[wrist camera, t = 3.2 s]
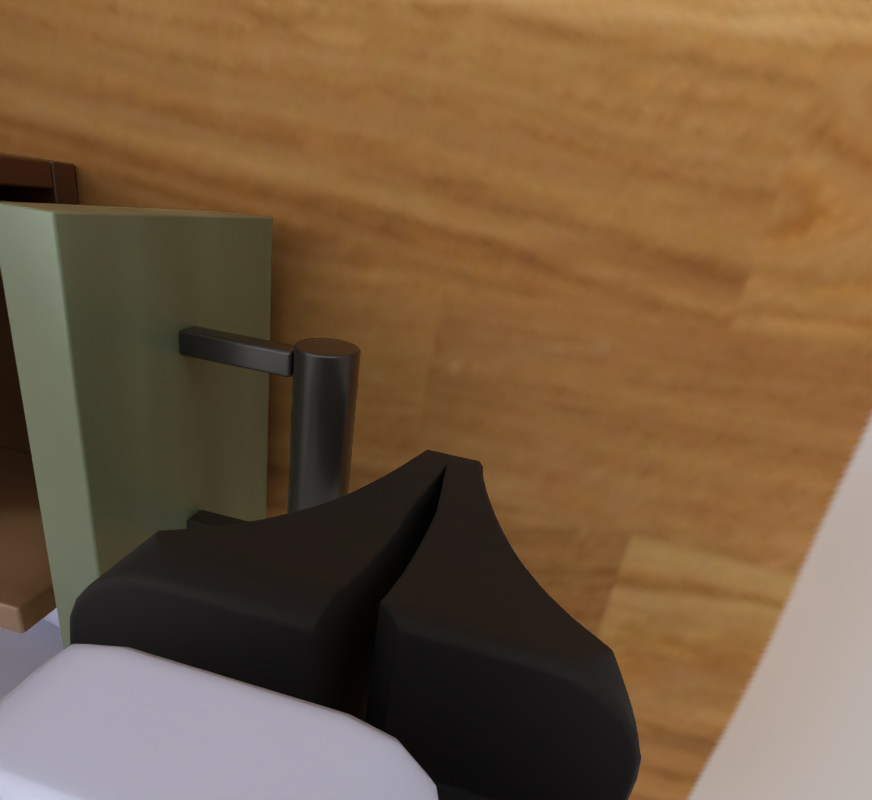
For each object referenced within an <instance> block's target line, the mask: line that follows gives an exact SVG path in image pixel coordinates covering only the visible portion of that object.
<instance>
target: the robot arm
mask: <svg viewBox="0 0 872 800" xmlns="http://www.w3.org/2000/svg"><path fill="white" fill-rule="evenodd" d="M640 761H641V754H640V749H639V739H638V733H637V727H636V722H635V718H634V714H633V710H632V706H631V703H630V700H629V696H628V693H627V690H626V687H625V684H624V681H623V678H622V675H621V673H620V670H619V667H618V664H617V661H616V658H615V656H614V653H613V651H612V649H610V648H609V647H608V646H607V645H605V644H604V643H603V642H602V641H600V640H599V639H598V638H597V637H595V636H594V635H593V634H592V633H591V632H589V631H588V630H587V629H586V628H584V627H583V626H582V625H581V624H579V623H578V622H577V621H576V620H574V619H573V618H572V617H571V616H570V615H569V614H568V613H567V612H566V611H565V610H564V609H563V608H562V607H560V606H559V605H558V604H557V603H556V602H555V601H554V600H553V599H552V598H551V597H550V596H549V595H548V594H547V593H546V591H545V590H544V589H543V588H542V587H541V586H540V585H539V584H538V583H537V581H536V580H535V579H534V578H533V576H532V575H531V574H530V573H529V572H528V570H527V569H526V568H525V567H524V565H523V564H522V563H521V561H520V560H519V558H518V557H517V555H516V554H515V552H514V550H513V549H512V547H511V546H510V544H509V542H508V540H507V538H506V537H505V535H504V533H503V531H502V529H501V527H500V525H499V522H498V520H497V518H496V516H495V513H494V511H493V508H492V506H491V503H490V500H489V497H488V494H487V491H486V487H485V483H484V479H483V466H482V465H481V463H480V462H479V461H476V460H471V459H467V458H462V457H457V456H453V455H448V454H444V453H439V452H435V451H430V450H427V451H425V452H423V453H422V454H420V455H418V456H417V457H415V458H414V459H412V460H410V461H409V462H407V463H406V464H404V465H402V466H401V467H399V468H398V469H396V470H394V471H393V472H391V473H389V474H387V475H386V476H384V477H382V478H380V479H378V480H376V481H374V482H372V483H370V484H368V485H366V486H364V487H362V488H360V489H358V490H356V491H354V492H352V493H350V494H347V495H345V496H342V497H340V498H337V499H335V500H332V501H329V502H326V503H323V504H321V505H317V506H314V507H311V508H307V509H303V510H299V511H296V512H292V513H288V514H284V515H281V516H277V517H272V518H267V519H262V520H256V521H251V522H244V523H237V524H231V525H223V526H214V527H201V528H188V529H176V530H159V531H157V532H156V533H155V534H153V535H152V536H151V537H149V538H148V539H147V540H145V541H144V542H143V543H142V544H140V545H139V546H138V547H137V548H135V549H134V550H133V551H132V552H130V553H129V554H128V555H126V556H125V557H124V558H123V559H121V560H120V561H119V562H118V563H116V564H115V565H114V566H113V567H111V568H110V569H109V570H107V571H106V572H105V573H104V574H102V575H101V576H100V577H99V578H97V579H96V580H95V581H94V582H92V583H91V584H90V585H89V586H88V587H87V588H86V589H85V590H84V591H83V592H82V593H81V594H80V595H79V596H78V597H77V598H76V601H75V603H74V606H73V609H72V612H71V615H70V646H69V647H67V648H66V649H64V650H63V644H62V638H61V632H60V626H59V620H58V614H57V608H56V609H54V610H53V611H52V612H51V613H49V614H48V615H47V616H46V617H44V618H43V619H42V620H40V621H39V622H38V623H37V624H35V625H34V626H33V627H32V628H30V629H29V630H28V631H26V632H25V633H22V634H21V633H17V632H14V631H11V630H8V629H4V628H1V627H0V800H628V798H629V796H630V794H631V791H632V789H633V787H634V784H635V782H636V780H637V775H638V770H639V765H640Z"/></svg>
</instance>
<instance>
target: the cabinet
mask: <svg viewBox="0 0 872 800" xmlns="http://www.w3.org/2000/svg"><path fill="white" fill-rule="evenodd" d="M0 200H5V201H11V202H26V203H49V204H72V205H78V196H77V187H76V178H75V168H74V165H73V164H71V163H65V162H58V161H52V160H45V159H39V158H32V157H26V156H19V155H12V154H6V153H0Z"/></svg>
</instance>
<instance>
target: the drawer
mask: <svg viewBox="0 0 872 800" xmlns="http://www.w3.org/2000/svg"><path fill="white" fill-rule="evenodd" d="M272 221H273V219H272V218H271V217H265V216H259V215H252V214H246V213H240V212H230V211H208V210H185V209H162V208H140V207H117V206H94V205H72V204H49V203H26V202H11V201H5V200H0V627H1V628H4V629H8V630H11V631H14V632H17V633H21V634H22V633H25V632H26V631H28V630H29V629H30V628H32V627H33V626H34V625H35V624H37V623H38V622H39V621H40V620H42V619H43V618H44V617H46V616H47V615H48V614H49V613H51V612H52V611H53V610H54V609H56V608H57V614H58V620H59V626H60V632H61V638H62V644H63V650H64V649H66V648H67V647H69V646H70V615H71V612H72V609H73V606H74V603H75V601H76V598H77V597H78V596H79V595H80V594H81V593H82V592H83V591H84V590H85V589H86V588H87V587H88V586H89V585H90V584H91V583H92V582H94V581H95V580H96V579H97V578H99V577H100V576H101V575H102V574H104V573H105V572H106V571H107V570H109V569H110V568H111V567H113V566H114V565H115V564H116V563H118V562H119V561H120V560H121V559H123V558H124V557H125V556H126V555H128V554H129V553H130V552H132V551H133V550H134V549H135V548H137V547H138V546H139V545H140V544H142V543H143V542H144V541H145V540H147V539H148V538H149V537H151V536H152V535H153V534H155V533H156V532H157V531H159V530H176V529H188V528H201V527H214V526H223V525H231V524H237V523H244V522H251V521H256V520H262V519H266V494H267V449H268V403H269V373H270V374H275V375H280V376H285V377H291V376H293V389H292V415H291V440H290V465H289V490H288V513H292V512H296V511H299V510H303V509H307V508H311V507H314V506H317V505H321V504H323V503H326V502H329V501H332V500H335V499H337V498H340V497H342V496H345V495H347V494H348V488H349V476H350V465H351V454H352V443H353V431H354V420H355V409H356V397H357V386H358V375H359V364H360V349H359V347H357V346H356V345H354V344H352V343H349V342H346V341H342V340H337V339H329V338H310V339H304V340H300V341H298V342H297V343H296V344H295V345H290V344H285V343H280V342H275V341H270V312H271V267H272Z"/></svg>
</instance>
